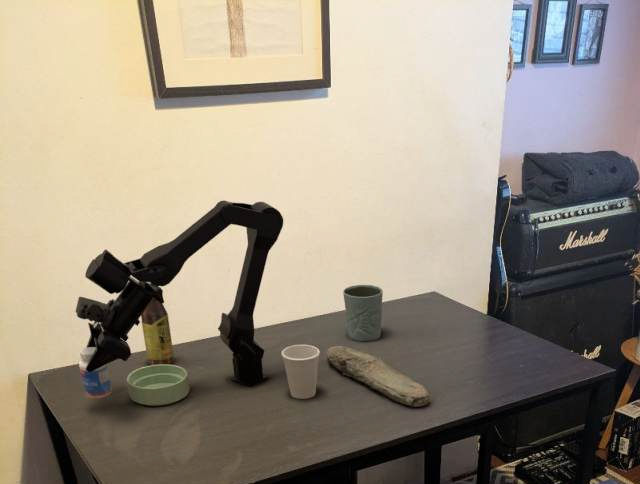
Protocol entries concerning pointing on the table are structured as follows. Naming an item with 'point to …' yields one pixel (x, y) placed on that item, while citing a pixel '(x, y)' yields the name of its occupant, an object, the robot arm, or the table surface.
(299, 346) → the dixie cup
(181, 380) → the bowl
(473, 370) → the table surface
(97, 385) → the pill bottle
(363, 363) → the long grey stone
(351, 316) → the green ceramic cup
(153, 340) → the sauce bottle
